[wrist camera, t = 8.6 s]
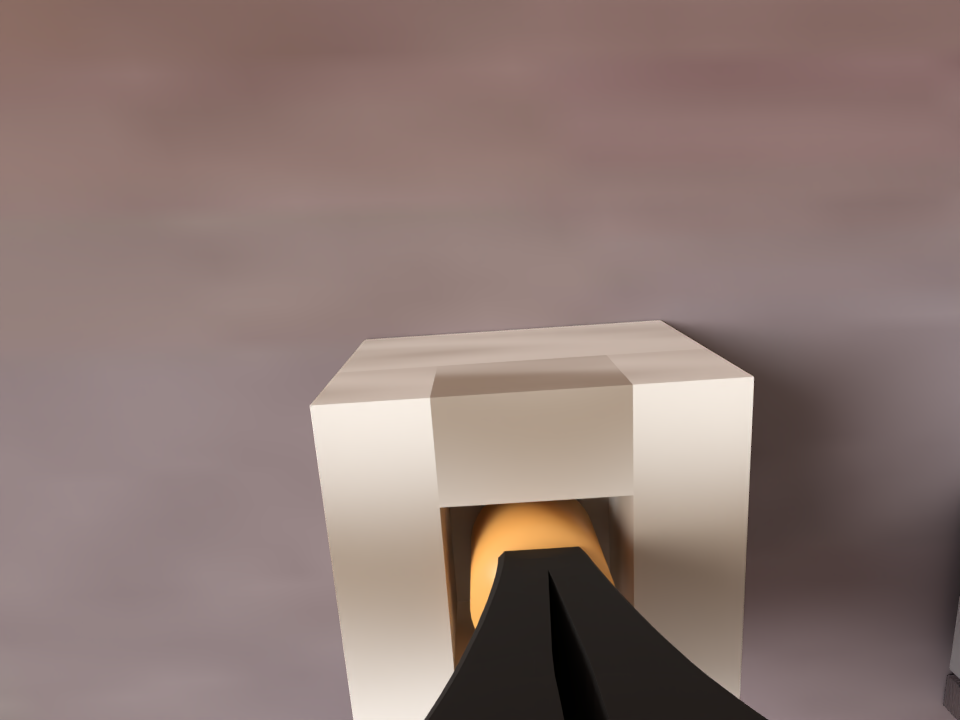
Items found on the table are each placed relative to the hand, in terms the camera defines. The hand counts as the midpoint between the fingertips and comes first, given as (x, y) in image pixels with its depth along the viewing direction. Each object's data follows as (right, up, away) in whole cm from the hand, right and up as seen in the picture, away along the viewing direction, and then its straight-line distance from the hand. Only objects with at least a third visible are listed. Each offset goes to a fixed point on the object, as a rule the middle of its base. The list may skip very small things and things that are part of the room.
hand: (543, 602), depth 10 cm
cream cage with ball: (0, +1, +5) cm, 6 cm away
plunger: (0, 0, +2) cm, 2 cm away
